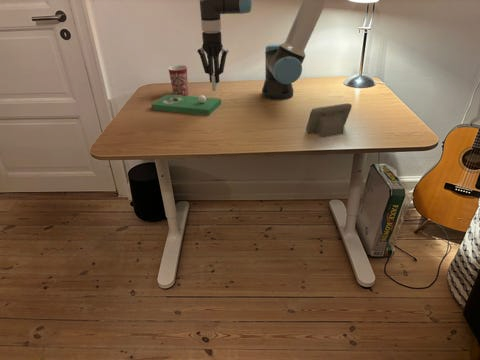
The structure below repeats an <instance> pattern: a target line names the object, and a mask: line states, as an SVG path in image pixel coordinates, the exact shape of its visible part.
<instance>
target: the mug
mask: <svg viewBox="0 0 480 360" xmlns="http://www.w3.org/2000/svg"><path fill="white" fill-rule="evenodd" d="M167 68H168V73H169V79H170V83H171V87H172V92H173V94H172V95H182V96H189V82H188V80H189V79H188V66H187V65H186V64H185V65H184V64H176V65H171V66H168V67H167Z"/></svg>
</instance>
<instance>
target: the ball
mask: <svg viewBox="0 0 480 360" xmlns="http://www.w3.org/2000/svg"><path fill="white" fill-rule="evenodd" d="M198 97H199V98H198V100H199V102H200V103H205V102H206V98H207V97H206V96H205V95H204V94H200V95H199V96H198Z"/></svg>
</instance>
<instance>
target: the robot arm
mask: <svg viewBox="0 0 480 360" xmlns="http://www.w3.org/2000/svg"><path fill="white" fill-rule="evenodd" d="M254 1H255V0H199V9H200V10H199V11H200V18H201V19H200V21H201V31H202V33H201V35H202V47H200V48H198V49H197V53H198V55H199V57H200V61H201V64H202V67H203V71H204V73H205V74H207V75H208V76H209V83H210V84H211V91H212V92H216V91H218V89H219V87H218V86H219V83H220V75H222V74H223V73H224V70H225V64H226V59H227V55H228V54H229V50H228V49H225V47H224V46H223V43H222V41H223V40H222V31H221V30H222V23H221V19H222V18H221V15H226V14H227V15H236V14H238V15H239V14H240V15H243V14H249V13H251V12H252V3H253V2H254ZM327 2H328V0H302V2H301V5H300V6H299V9H298V11H297V13H296V16H295V18H294V21H293V23H292V25H291V27H290V29H289V32H288V34H287V37H286V39H285V41H284V42H282V43H276V44H268V45H266V47H265V52H264V54H265V55H264V56H265V62H264V63H265V71H264V72H265V79H264V82H263V86H262V89H261V97H263V98H265V99H269V100H274V101H275V100H276V101H282V100H287V99H290V98H292V97H293V96H294V88H293V83H295V82H297V80H298V79H299V78H300V77H301V75H302V72H303V62H304V60H305V58H306V53H305V50H306V47H307V45H308V43H309V40H310V39H311V36H312V35H313V33H314V30H315V28H316V26H317V23H318V21H319V19H320V17H321V14H322V13H323V10H324V9H325V6H326V4H327ZM220 53H221V56H220ZM219 57H220V60H219Z"/></svg>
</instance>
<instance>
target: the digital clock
mask: <svg viewBox="0 0 480 360" xmlns="http://www.w3.org/2000/svg"><path fill="white" fill-rule="evenodd" d="M351 111H352V104H351V103H339V104H333V105H326V106H320V107H314V108H312V109H311V111H310V114H309V117H308V121H307V125H306V127H305V132H307V133H308V134H312V133H315V134H316V135H318V136H319V137H320V138H326V137H333V136H338V135H343V134H344V129H345V125H346V123H347V120H348V118H349V115H350V113H351Z"/></svg>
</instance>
